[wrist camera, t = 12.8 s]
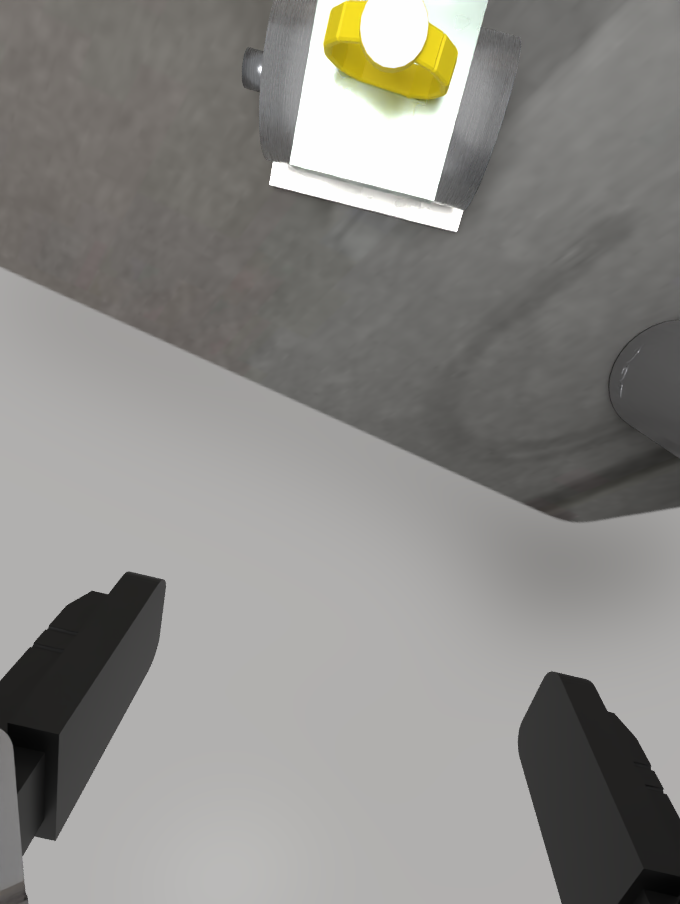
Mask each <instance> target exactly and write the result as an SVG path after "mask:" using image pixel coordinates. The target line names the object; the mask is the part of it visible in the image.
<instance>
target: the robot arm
mask: <svg viewBox="0 0 680 904" xmlns="http://www.w3.org/2000/svg"><path fill="white" fill-rule="evenodd" d="M609 392H610V399H611V402H612V404H613V407H614V409H615V411H616V412H617V413H618V415H619V416H620V418H622V419H623V420H624V421H625V422H627V423H628V424H629V425H630V426H632V427H633V428H635V429H636V430H638V431H639V432H641V433H642V434H644V435H645V436H647V437H648V438H650V439H651V440H653V441H654V442H656V443H657V444H659V445H660V446H662V447H663V448H665V449H666V450H668V451H669V452H671V453H672V454H674V455H675V456H677V457H678V458H680V320H675V321H669V322H664V323H661V324H658V325H656V326H653V327H651V328H649V329H647V330H645V331H644V332H642V333H640V334H639V335H638V336H637V337H635V338H634V339H633V340H632V341H631V342H630V343H629V344H628V345H627V346H626V347H625V348H624V350H623V351H622V352H621V353H620V355H619V357H618V358H617V360H616V362H615V364H614V366H613V369H612V373H611V376H610V384H609ZM165 589H166V582H165V580H163V579H159V578H155V577H150V576H146V575H142V574H138V573H133V572H126V573H125V574H124V575H123V576H122V578H121V579H120V580H119V581H118V583H117V584H116V585H115V586H114V588H113V589H112V590H111V591H110V593H109V594H104V593H99V592H95V591H91V592H89V593H88V594H86V595H84V596H82V597H81V598H79V599H77V600H75V601H74V602H72V603H70V604H68V605H67V606H66V607H65V608H64V609H63V610H62V611H61V613H60V614H59V615H58V616H57V617H56V618H55V619H54V621H53V622H52V623H51V624H50V625H49V628H48V629H47V630H45V631H44V632H43V633H42V634H41V635H40V637H39V638H38V639H37V640H36V641H35V642H34V645H33V647H30V648H29V649H28V650H27V651H26V652H25V653H24V655H23V656H22V657H21V658H20V659H19V660H18V661H17V662H16V664H15V665H14V666H13V667H12V668H11V669H10V670H9V672H8V673H7V674H6V675H5V676H4V677H3V678H2V679H1V681H0V904H28V898H27V895H26V893H25V884H24V873H23V861H22V856H23V855H24V853H25V851H26V850H27V848H28V846H29V844H30V843H31V841H32V839H33V838H34V836H36V837H40V838H45V839H49V840H54V841H56V839H57V837H58V835H59V833H60V831H61V830H62V828H63V826H64V824H65V822H66V821H67V819H68V817H69V815H70V813H71V811H72V810H73V808H74V806H75V804H76V802H77V800H78V799H79V797H80V795H81V793H82V791H83V789H84V788H85V786H86V784H87V782H88V780H89V778H90V777H91V775H92V773H93V771H94V769H95V767H96V766H97V764H98V762H99V760H100V758H101V756H102V754H103V753H104V751H105V749H106V747H107V745H108V743H109V742H110V740H111V738H112V736H113V734H114V733H115V731H116V729H117V727H118V725H119V724H120V722H121V720H122V718H123V716H124V714H125V713H126V711H127V709H128V707H129V705H130V703H131V702H132V700H133V698H134V696H135V694H136V692H137V691H138V689H139V687H140V685H141V683H142V681H143V679H144V678H145V676H146V674H147V672H148V670H149V668H150V666H151V664H152V661H153V659H154V656H155V653H156V649H157V646H158V642H159V637H160V628H161V621H162V613H163V605H164V597H165ZM518 750H519V756H520V760H521V763H522V767H523V770H524V774H525V778H526V781H527V785H528V788H529V791H530V795H531V798H532V802H533V805H534V809H535V812H536V816H537V819H538V822H539V826H540V830H541V833H542V837H543V840H544V843H545V847H546V850H547V854H548V857H549V861H550V864H551V867H552V871H553V875H554V878H555V882H556V885H557V889H558V892H559V895H560V899H561V903H562V904H680V818H679V816H678V814H677V813H676V811H675V809H674V807H673V805H672V803H671V801H670V800H669V798H668V796H667V794H664V793H663V787H662V785H661V783H660V781H659V779H658V777H657V776H656V774H655V772H654V771H652V770H651V765H650V763H649V761H648V759H647V757H646V755H645V753H644V751H643V750H642V748H641V746H640V744H639V742H638V740H637V739H636V738H635V736H634V735H633V734H632V733H631V732H630V731H629V729H628V728H627V727H626V726H625V725H624V724H623V723H622V722H621V720H620V719H619V718H618V717H617V716H616V715H615V714H614V713H611V712H608V711H607V710H606V708H605V706H604V704H603V702H602V700H601V698H600V696H599V694H598V692H597V690H596V688H595V686H594V685H593V683H592V682H591V681H589V680H587V679H583V678H578V677H574V676H570V675H565V674H561V673H557V672H549V673H547V674H546V676H545V677H544V679H543V681H542V683H541V685H540V687H539V689H538V691H537V693H536V695H535V697H534V699H533V701H532V703H531V705H530V707H529V709H528V711H527V713H526V715H525V717H524V719H523V721H522V723H521V726H520V729H519V735H518Z"/></svg>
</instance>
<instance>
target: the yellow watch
mask: <svg viewBox="0 0 680 904" xmlns="http://www.w3.org/2000/svg"><path fill="white" fill-rule="evenodd" d="M323 48H324V54H325V56H326V57H327V58H328V59H329V60H330V61H331V63H332V64H333V65H334V66H335V67H336V68H338V69H339V70H340V71H342V72H344V73H345V74H347V75H349V76H350V77H352V78H354V79H355V80H357V81H361V82H364V83H367V84H370V85H373V86H376V87H379V88H382V89H385V90H388V91H391V92H394V93H397V94H400V95H404V96H407V97H406V98H409V99H410V98H412V99H427V100H430V99H435V98H438V97H441V96H444V95H446V94H447V92H448V89H449V85H450V82H451V79H452V76H453V73H454V69H455V66H456V63H457V57H458V50H457V48H456V47H455V45H454V44H453V43H452V41H451V40H450V39H449V37H448V36H447V35H446V34H445V33H443V31H442V30H440V29H439V28H437V27H436V26H434V25H433V24H431V23H429V21H428V12H427V9H426V7H425V4H424V2H423V0H367V1H363V0H349V1H345V2H343V3H341V4H339V5H337V6H335V7H333V8H332V9H331V11H330V15H329V19H328V24H327V28H326V33H325V37H324V41H323ZM414 63H416V64H414ZM417 64H418V65H417Z"/></svg>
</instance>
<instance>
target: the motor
mask: <svg viewBox="0 0 680 904" xmlns="http://www.w3.org/2000/svg"><path fill="white" fill-rule="evenodd" d="M345 1H349V0H274V2H273V6H272V10H271V14H270V18H269V23H268V28H267V33H266V39H265V46H264V51H261V50H257V49H253V48H249V47H248V48H247V49H246V51H245V54H244V58H243V65H242V82H243V86H244V88H246V89H250V90H254V91H258V92H260V97H259V131H260V142H261V148H262V152H263V155H264V157H265V159H266V160H268V161H271V162H273V166H272V172H271V179H270V185H271V186H273V187H275V188H279V189H283V190H287V191H291V192H295V193H299V194H303V195H307V196H311V197H315V198H319V199H323V200H327V201H331V202H335V203H339V204H343V205H347V206H351V207H354V208H358V209H362V210H366V211H370V212H374V213H378V214H382V215H386V216H390V217H394V218H398V219H402V220H406V221H410V222H414V223H418V224H422V225H426V226H430V227H434V228H438V229H441V230H445V231H449V232H453V233H454V232H457V230H458V226H459V223H460V219H461V216H462V213H463V210H466V209H467V207H468V206H469V204H470V203H471V201H472V199H473V197H474V195H475V193H476V191H477V189H478V187H479V184H480V182H481V180H482V177H483V175H484V172H485V170H486V167H487V165H488V162H489V160H490V157H491V154H492V151H493V149H494V146H495V143H496V140H497V137H498V134H499V131H500V128H501V125H502V122H503V118H504V115H505V112H506V109H507V105H508V102H509V98H510V95H511V91H512V87H513V83H514V79H515V75H516V71H517V67H518V62H519V56H520V50H521V38H520V37H519V36H515V35H511V34H507V33H503V32H500V31H496V30H492V29H488V28H484V27H481V24H482V21H483V17H484V13H485V10H486V6H487V2H488V0H423V2H424V4H425V7H426V9H427V12H428V21H429V23H431V24H433V25H434V26H436V27H437V28H439V29H440V30H442V31H443V33H445V34H446V35H447V36H448V37H449V39H450V40H451V41H452V43H453V44H454V45H455V47H456V48H457V50H458V57H457V63H456V66H455V69H454V73H453V76H452V79H451V82H450V85H449V89H448V92H447V94H446V95H444V96H441V97H438V98H435V99H430V100H427V99H412V98H410V99H409V98H406V97H407V96H404V95H400V94H397V93H394V92H391V91H388V90H385V89H382V88H379V87H376V86H373V85H370V84H367V83H364V82H361V81H357V80H355V79H354V78H352V77H350V76H349V75H347V74H345V73H344V72H342V71H340V70H339V69H338V68H336V67H335V66H334V65H333V64H332V63H331V61H330V60H329V59H328V58H327V57H326V56H325V54H324V48H323V41H324V37H325V33H326V28H327V24H328V19H329V15H330V11H331V9H332V8H333V7H335V6H337V5H339V4H341V3H343V2H345ZM363 1H367V0H363ZM414 64H416V63H414ZM417 65H418V64H417Z"/></svg>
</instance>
